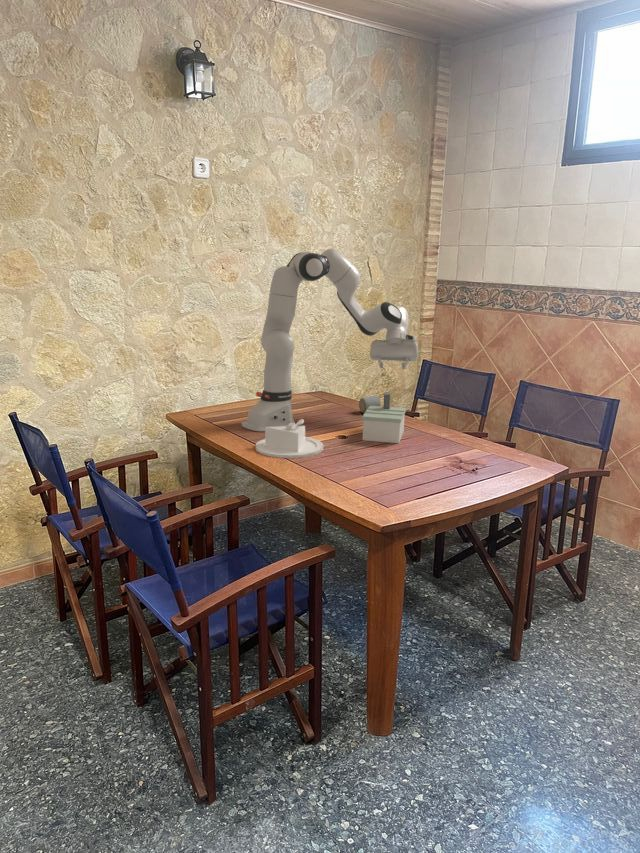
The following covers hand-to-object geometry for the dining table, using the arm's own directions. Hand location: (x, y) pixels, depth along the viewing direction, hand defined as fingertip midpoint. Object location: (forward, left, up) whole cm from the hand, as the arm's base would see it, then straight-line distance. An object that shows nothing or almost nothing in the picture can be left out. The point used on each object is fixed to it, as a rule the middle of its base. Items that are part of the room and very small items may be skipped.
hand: (392, 367), depth 261 cm
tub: (-16, -11, -24) cm, 31 cm away
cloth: (-22, -55, -25) cm, 64 cm away
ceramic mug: (+7, +17, -24) cm, 31 cm away
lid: (-16, -11, -17) cm, 26 cm away
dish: (-55, 0, -24) cm, 60 cm away
